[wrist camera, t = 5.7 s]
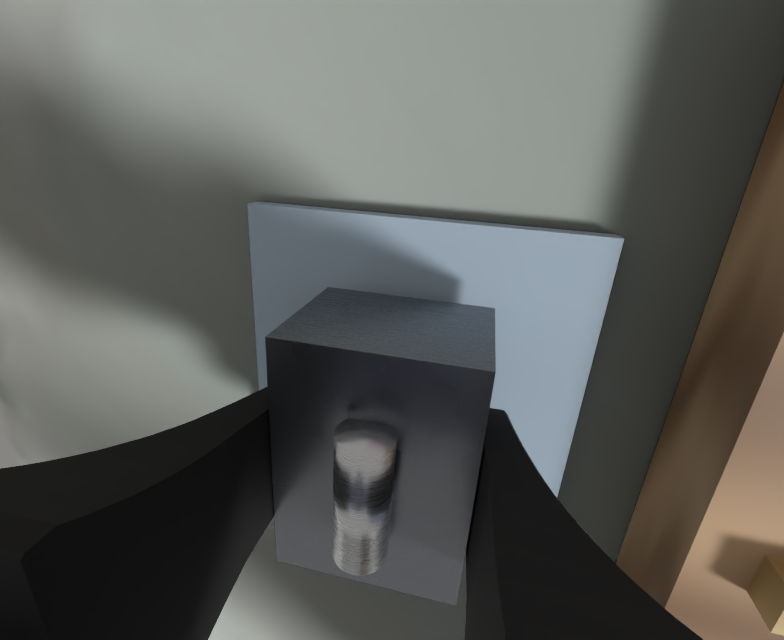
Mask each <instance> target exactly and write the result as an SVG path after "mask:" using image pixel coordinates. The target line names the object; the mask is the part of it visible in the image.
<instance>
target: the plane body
mask: <svg viewBox="0 0 784 640" xmlns="http://www.w3.org/2000/svg"><path fill="white" fill-rule="evenodd" d="M616 565H617V566H618V567H619V568H620V569H621V570H622V571H623V572H625V573H626V574H627V575H628V576H629V577H630V578H631V579H632V580H633V581H634V582H635V583H636V584H637V585H638V586H640V587H641V588H642V589H643V590H644V591H645V592H646V593H648V594H649V595H650V596H651V597H652V598H653V599H654V600H656V601H657V602H658V603H659V604H660V605H661V606H662V607H664V608H665V609H666V610H667V611H668V612H669V613H671V614H672V615H673V616H674V617H675V618H677V619H678V620H679V621H680V622H682V623H683V624H684V625H685V626H687V627H688V628H689V629H691V630H692V631H693V632H694V633H696V634H697V635H698V636H700V637H701V638H702V639H703V640H784V82H783V85H782V88H781V91H780V93H779V96H778V99H777V102H776V105H775V108H774V111H773V114H772V116H771V119H770V122H769V125H768V128H767V131H766V134H765V136H764V139H763V142H762V145H761V148H760V151H759V154H758V157H757V159H756V162H755V165H754V168H753V171H752V174H751V177H750V179H749V182H748V185H747V188H746V191H745V194H744V197H743V200H742V202H741V205H740V208H739V211H738V214H737V217H736V220H735V222H734V225H733V228H732V231H731V234H730V237H729V240H728V243H727V245H726V248H725V251H724V254H723V257H722V260H721V263H720V265H719V268H718V271H717V274H716V277H715V280H714V283H713V286H712V288H711V291H710V294H709V297H708V300H707V303H706V306H705V308H704V311H703V314H702V317H701V320H700V323H699V326H698V329H697V331H696V334H695V337H694V340H693V343H692V346H691V349H690V351H689V354H688V357H687V360H686V363H685V366H684V369H683V372H682V374H681V377H680V380H679V383H678V386H677V389H676V392H675V394H674V397H673V400H672V403H671V406H670V409H669V412H668V414H667V417H666V420H665V423H664V426H663V429H662V432H661V435H660V437H659V440H658V443H657V446H656V449H655V452H654V455H653V457H652V460H651V463H650V466H649V469H648V472H647V475H646V478H645V480H644V483H643V486H642V489H641V492H640V495H639V498H638V500H637V503H636V506H635V509H634V512H633V515H632V518H631V521H630V523H629V526H628V529H627V532H626V535H625V538H624V541H623V543H622V546H621V549H620V552H619V555H618V558H617V561H616Z"/></svg>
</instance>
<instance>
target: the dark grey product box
mask: <svg viewBox="0 0 784 640" xmlns="http://www.w3.org/2000/svg"><path fill="white" fill-rule="evenodd" d="M265 346H266V366H267V385H268V404H269V424H270V443H271V463H272V482H273V501H274V521H275V540H276V559H277V561H279V562H283V563H287V564H291V565H295V566H299V567H303V568H307V569H311V570H315V571H319V572H323V573H327V574H331V575H335V576H339V577H343V578H347V579H351V580H355V581H359V582H363V583H367V584H371V585H375V586H379V587H383V588H387V589H391V590H395V591H399V592H403V593H407V594H411V595H415V596H419V597H423V598H427V599H431V600H435V601H439V602H443V603H447V604H451V605H455V606H457V600H458V594H459V588H460V582H461V576H462V570H463V564H464V558H465V552H466V546H467V540H468V534H469V528H470V522H471V516H472V510H473V504H474V498H475V493H476V487H477V481H478V475H479V469H480V463H481V457H482V451H483V445H484V439H485V433H486V427H487V421H488V415H489V409H490V403H491V397H492V391H493V385H494V379H495V373H496V352H495V308H490V307H482V306H474V305H467V304H459V303H451V302H443V301H435V300H427V299H419V298H411V297H403V296H395V295H388V294H380V293H372V292H364V291H356V290H348V289H340V288H332V287H327V288H326V289H325V290H324V291H322V292H321V293H320V294H318V295H317V296H316V297H315V298H313V299H312V300H311V301H310V302H308V303H307V304H306V305H305V306H303V307H302V308H301V309H300V310H298V311H297V312H296V313H295V314H293V315H292V316H291V317H289V318H288V319H287V320H286V321H284V322H283V323H282V324H281V325H279V326H278V327H277V328H276V329H274V330H273V331H272V332H271V333H269V334H268V335H267V336H266V337H265Z"/></svg>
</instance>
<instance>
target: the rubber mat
mask: <svg viewBox="0 0 784 640" xmlns="http://www.w3.org/2000/svg"><path fill="white" fill-rule="evenodd" d="M247 209H248V225H249V241H250V257H251V273H252V289H253V305H254V321H255V337H256V353H257V369H258V385H259V390H261V389H263V388H265V387H267V386H268V385H267V366H266V346H265V337H266V336H267V335H268V334H269V333H271V332H272V331H273V330H274V329H276V328H277V327H278V326H279V325H281V324H282V323H283V322H284V321H286V320H287V319H288V318H289V317H291V316H292V315H293V314H295V313H296V312H297V311H298V310H300V309H301V308H302V307H303V306H305V305H306V304H307V303H308V302H310V301H311V300H312V299H313V298H315V297H316V296H317V295H318V294H320V293H321V292H322V291H324V290H325V289H326V288H327V287H332V288H340V289H348V290H356V291H364V292H372V293H380V294H388V295H395V296H403V297H411V298H419V299H427V300H435V301H443V302H451V303H459V304H467V305H474V306H482V307H490V308H495V352H496V373H495V379H494V385H493V391H492V397H491V403H490V408H494V409H500V410H504V411H505V412H506V413H507V414H508V416H509V419H510V421H511V423H512V425H513V427H514V429H515V431H516V433H517V435H518V437H519V439H520V441H521V443H522V445H523V447H524V448H525V450H526V452H527V453H528V455H529V457H530V458H531V460H532V462H533V463H534V465H535V467H536V468H537V470H538V471H539V473H540V474H541V476H542V477H543V479H544V480H545V482H546V483H547V485H548V486H549V488H550V489H551V490H552V492H553V493H554V495H555V496H556V497H558V493H559V489H560V485H561V481H562V477H563V473H564V470H565V466H566V462H567V458H568V454H569V450H570V446H571V443H572V439H573V435H574V431H575V427H576V423H577V419H578V416H579V412H580V408H581V404H582V400H583V396H584V392H585V389H586V385H587V381H588V377H589V373H590V369H591V365H592V362H593V358H594V354H595V350H596V346H597V342H598V338H599V334H600V331H601V327H602V323H603V319H604V315H605V311H606V307H607V304H608V300H609V296H610V292H611V288H612V284H613V280H614V277H615V273H616V269H617V265H618V261H619V257H620V253H621V250H622V246H623V242H624V238H622V237H621V236H619V235H617V234H606V233H595V232H584V231H573V230H563V229H552V228H541V227H530V226H519V225H508V224H498V223H487V222H476V221H465V220H454V219H443V218H433V217H422V216H411V215H400V214H389V213H378V212H368V211H357V210H346V209H335V208H324V207H313V206H303V205H292V204H281V203H270V202H259V201H257V202H252V203H247Z"/></svg>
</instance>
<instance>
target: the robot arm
mask: <svg viewBox="0 0 784 640" xmlns="http://www.w3.org/2000/svg"><path fill="white" fill-rule="evenodd" d="M273 517H274V501H273V482H272V463H271V443H270V424H269V404H268V386H267V387H265V388H263V389H261V390H259V391H257V392H255V393H253V394H251V395H249V396H247V397H245V398H243V399H241V400H238V401H236V402H234V403H232V404H230V405H228V406H225V407H223V408H221V409H218V410H216V411H214V412H212V413H209V414H207V415H205V416H202V417H200V418H198V419H195V420H193V421H190V422H188V423H185V424H183V425H180V426H177V427H174V428H172V429H169V430H166V431H163V432H160V433H157V434H154V435H151V436H148V437H145V438H141V439H138V440H134V441H130V442H127V443H123V444H119V445H116V446H112V447H108V448H105V449H101V450H97V451H93V452H89V453H84V454H80V455H75V456H71V457H66V458H61V459H56V460H51V461H46V462H40V463H35V464H29V465H23V466H16V467H10V468H2V469H0V640H208V638H209V636H210V634H211V632H212V630H213V628H214V625H215V623H216V621H217V619H218V617H219V615H220V613H221V611H222V609H223V607H224V604H225V602H226V600H227V598H228V596H229V594H230V592H231V590H232V588H233V586H234V584H235V582H236V580H237V578H238V576H239V574H240V572H241V570H242V568H243V566H244V565H245V563H246V561H247V559H248V557H249V556H250V554H251V552H252V550H253V549H254V547H255V545H256V544H257V542H258V540H259V539H260V537H261V536H262V534H263V532H264V531H265V529H266V528H267V526H268V525H269V523H270V521H271V520H272V518H273ZM466 584H467V604H466V627H465V640H703V639H702V638H701V637H700V636H698V635H697V634H696V633H694V632H693V631H692V630H691V629H689V628H688V627H687V626H685V625H684V624H683V623H682V622H680V621H679V620H678V619H677V618H675V617H674V616H673V615H672V614H671V613H669V612H668V611H667V610H666V609H665V608H664V607H662V606H661V605H660V604H659V603H658V602H657V601H656V600H654V599H653V598H652V597H651V596H650V595H649V594H648V593H646V592H645V591H644V590H643V589H642V588H641V587H640V586H638V585H637V584H636V583H635V582H634V581H633V580H632V579H631V578H630V577H629V576H628V575H627V574H626V573H625V572H623V571H622V570H621V569H620V568H619V567H618V566H617V565H616V564H615V563H614V562H613V561H612V560H611V559H610V558H609V557H608V556H607V555H606V554H605V553H604V552H603V551H602V550H601V549H600V548H599V547H598V546H597V545H596V544H595V543H594V542H593V540H592V539H591V538H590V537H589V536H588V535H587V534H586V533H585V532H584V531H583V530H582V528H581V527H580V526H579V525H578V524H577V523H576V521H575V520H574V519H573V518H572V517H571V515H570V514H569V513H568V512H567V511H566V509H565V508H564V507H563V505H562V504H561V503H560V501H559V500H558V499H557V497H556V496H555V495H554V493H553V492H552V490H551V489H550V488H549V486H548V485H547V483H546V482H545V480H544V479H543V477H542V476H541V474H540V473H539V471H538V470H537V468H536V467H535V465H534V463H533V462H532V460H531V458H530V457H529V455H528V453H527V452H526V450H525V448H524V447H523V445H522V443H521V441H520V439H519V437H518V435H517V433H516V431H515V429H514V427H513V425H512V423H511V421H510V419H509V416H508V414H507V413H506V412H505V411H504V410H500V409H494V408H490V409H489V415H488V421H487V427H486V433H485V439H484V445H483V451H482V457H481V463H480V469H479V475H478V481H477V487H476V493H475V498H474V504H473V510H472V516H471V522H470V528H469V534H468V540H467V546H466Z"/></svg>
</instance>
